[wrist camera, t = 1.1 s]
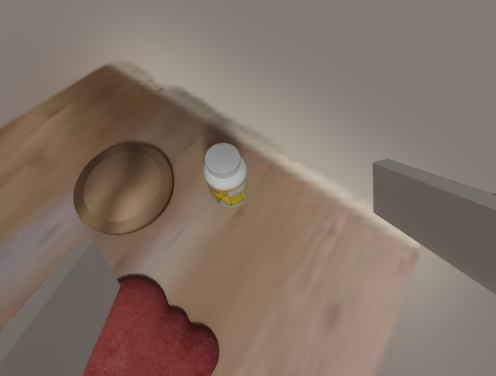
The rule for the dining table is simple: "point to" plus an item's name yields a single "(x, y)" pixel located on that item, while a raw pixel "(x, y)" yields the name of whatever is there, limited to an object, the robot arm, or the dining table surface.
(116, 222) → the plate
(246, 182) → the supplement bottle
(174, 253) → the dining table surface
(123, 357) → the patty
